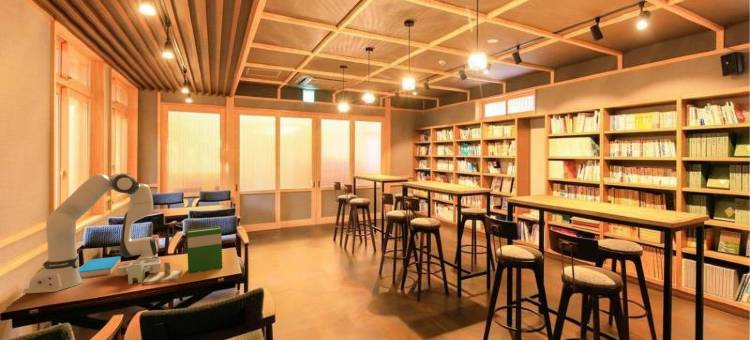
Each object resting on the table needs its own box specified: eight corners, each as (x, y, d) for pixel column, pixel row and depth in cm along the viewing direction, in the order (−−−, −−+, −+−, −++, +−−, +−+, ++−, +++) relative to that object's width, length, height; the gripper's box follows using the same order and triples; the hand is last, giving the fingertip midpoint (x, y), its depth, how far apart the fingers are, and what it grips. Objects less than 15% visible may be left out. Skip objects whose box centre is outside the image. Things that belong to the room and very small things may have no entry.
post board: (142, 284, 178) (142, 269, 177) (150, 275, 191) (149, 261, 190) (177, 280, 183) (176, 265, 183) (182, 272, 196) (181, 257, 196)
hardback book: (189, 273, 194) (187, 232, 192) (188, 270, 200) (186, 230, 199) (222, 268, 203) (221, 228, 202) (220, 264, 209) (219, 226, 208)
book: (121, 255, 217) (111, 267, 195) (121, 262, 217) (112, 274, 195) (87, 259, 209) (73, 271, 187) (87, 266, 210) (73, 279, 187)
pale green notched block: (128, 284, 179) (127, 265, 178) (132, 280, 184) (131, 262, 184) (141, 282, 181) (140, 264, 180) (145, 278, 187) (144, 260, 186)
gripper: (121, 260, 191) (112, 268, 178) (163, 256, 198) (157, 263, 185) (122, 271, 191) (112, 280, 178) (163, 267, 198) (157, 275, 185)
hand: (135, 271), depth 182 cm, fingers closed on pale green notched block, 6 cm apart
